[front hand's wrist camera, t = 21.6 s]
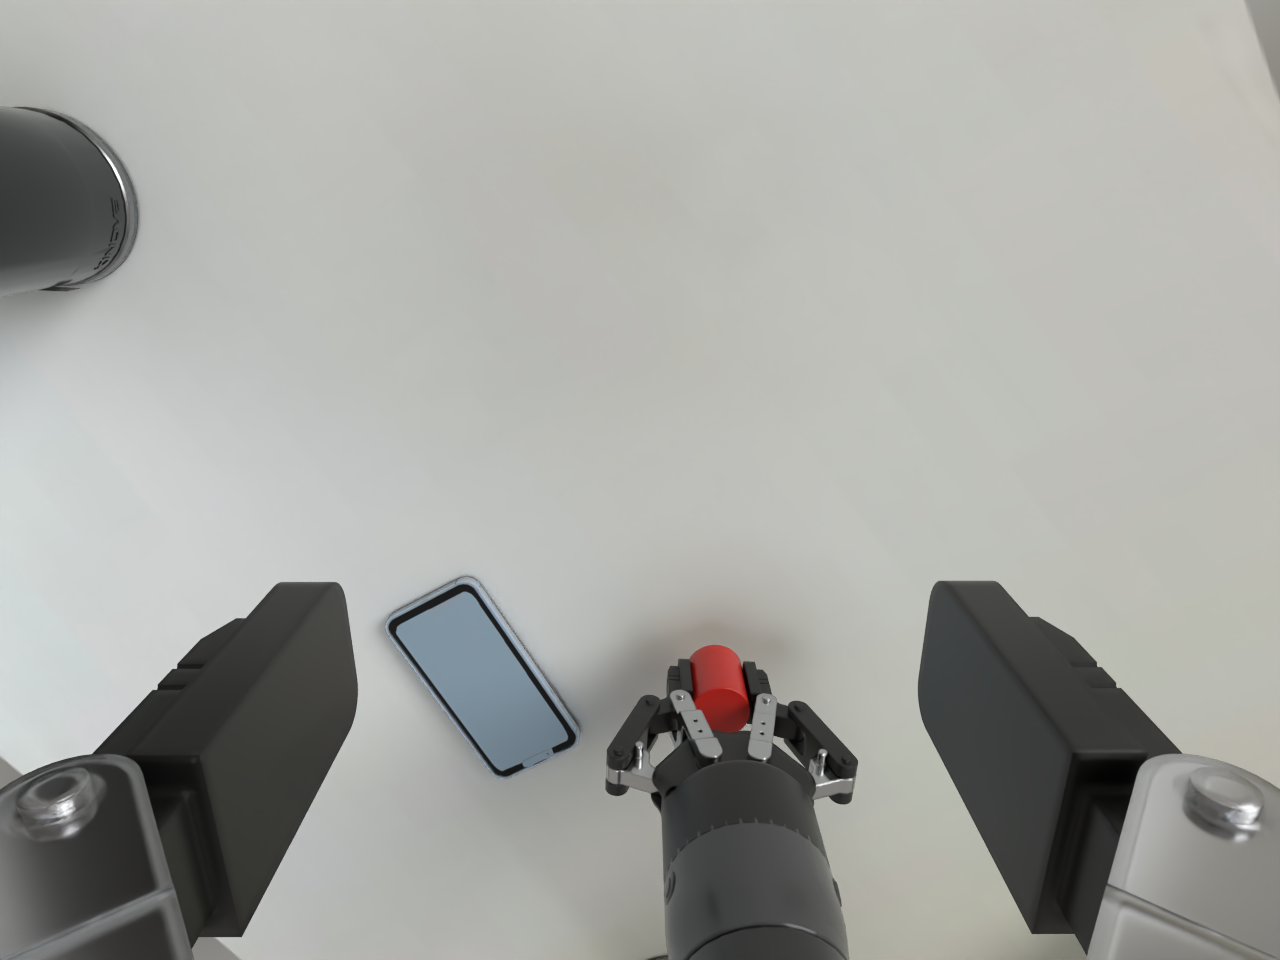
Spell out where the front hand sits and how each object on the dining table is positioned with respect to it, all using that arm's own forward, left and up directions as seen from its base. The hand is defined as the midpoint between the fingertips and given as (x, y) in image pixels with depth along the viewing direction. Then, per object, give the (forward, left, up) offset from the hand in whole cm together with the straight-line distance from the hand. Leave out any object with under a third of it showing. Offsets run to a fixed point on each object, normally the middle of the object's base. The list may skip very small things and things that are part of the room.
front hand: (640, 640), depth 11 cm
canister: (+15, -19, -35) cm, 43 cm away
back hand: (+15, -19, -35) cm, 42 cm away
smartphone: (+2, -29, -39) cm, 49 cm away
